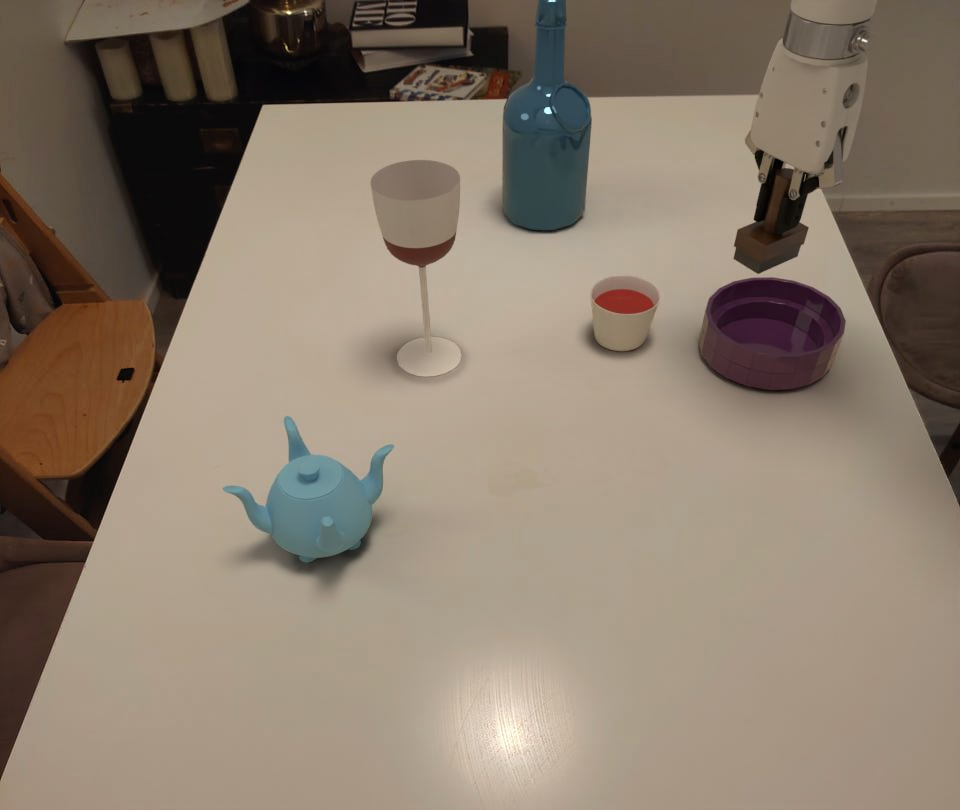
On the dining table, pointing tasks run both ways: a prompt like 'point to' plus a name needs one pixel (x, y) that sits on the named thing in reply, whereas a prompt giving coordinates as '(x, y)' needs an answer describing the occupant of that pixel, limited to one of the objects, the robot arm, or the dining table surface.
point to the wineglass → (420, 242)
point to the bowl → (771, 333)
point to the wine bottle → (546, 135)
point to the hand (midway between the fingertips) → (775, 222)
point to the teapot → (316, 501)
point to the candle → (623, 311)
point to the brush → (770, 233)
